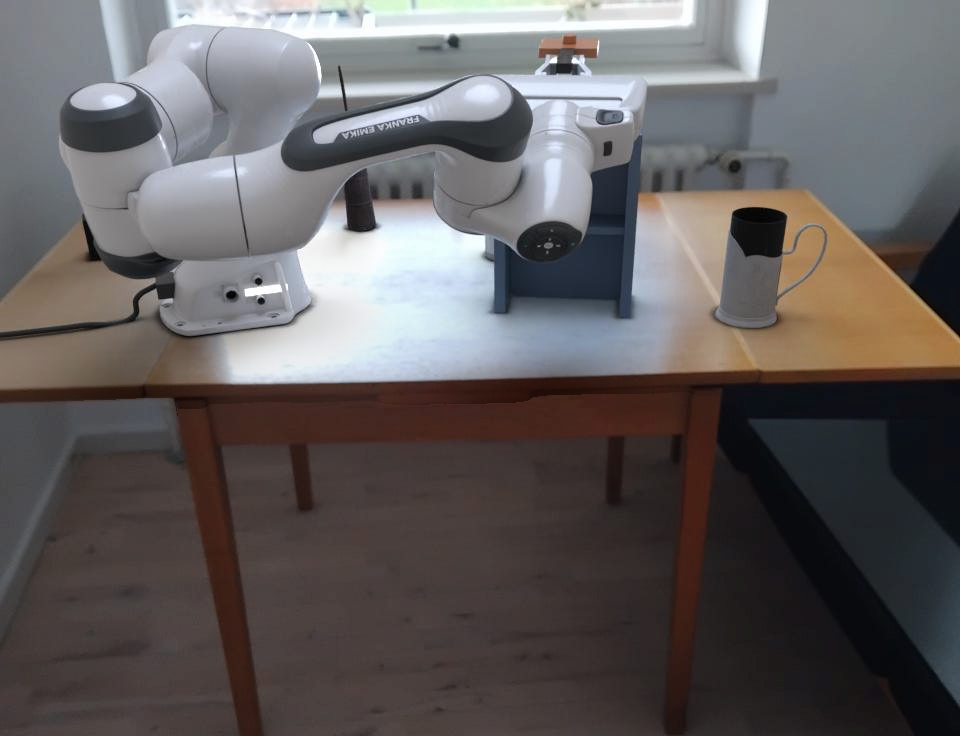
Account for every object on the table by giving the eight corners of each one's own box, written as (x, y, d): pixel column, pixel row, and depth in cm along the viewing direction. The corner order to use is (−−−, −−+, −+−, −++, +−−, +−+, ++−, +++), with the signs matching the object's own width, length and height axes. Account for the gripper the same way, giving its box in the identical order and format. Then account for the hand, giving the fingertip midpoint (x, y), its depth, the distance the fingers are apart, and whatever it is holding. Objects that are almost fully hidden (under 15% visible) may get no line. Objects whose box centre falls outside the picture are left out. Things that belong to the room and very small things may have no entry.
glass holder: (711, 304, 153) (722, 205, 145) (806, 304, 153) (823, 205, 145) (720, 328, 146) (733, 225, 138) (821, 328, 145) (839, 224, 137)
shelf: (630, 317, 149) (642, 135, 136) (494, 312, 152) (493, 132, 138) (630, 297, 156) (642, 121, 142) (500, 292, 158) (499, 118, 145)
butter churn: (369, 214, 193) (357, 55, 178) (400, 225, 187) (391, 62, 172) (329, 224, 188) (313, 62, 173) (360, 236, 182) (347, 70, 167)
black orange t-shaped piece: (595, 74, 123) (595, 54, 121) (531, 73, 123) (532, 54, 122) (598, 48, 138) (599, 30, 137) (542, 47, 139) (542, 30, 137)
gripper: (471, 159, 123) (483, 79, 130) (643, 162, 121) (646, 80, 127) (467, 118, 118) (479, 36, 124) (646, 121, 115) (649, 37, 122)
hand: (565, 59), depth 126 cm, fingers closed on black orange t-shaped piece, 2 cm apart
